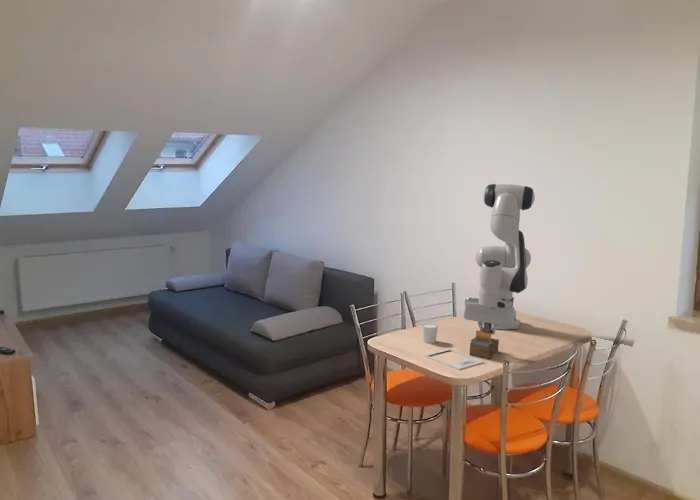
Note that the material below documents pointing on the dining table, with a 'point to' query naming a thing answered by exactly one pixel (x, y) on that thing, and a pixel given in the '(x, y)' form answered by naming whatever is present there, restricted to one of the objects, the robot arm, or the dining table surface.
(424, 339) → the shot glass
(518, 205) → the robot arm
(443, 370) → the dining table surface
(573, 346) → the dining table surface
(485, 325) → the peg
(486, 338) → the bar
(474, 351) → the dock
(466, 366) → the photo frame
